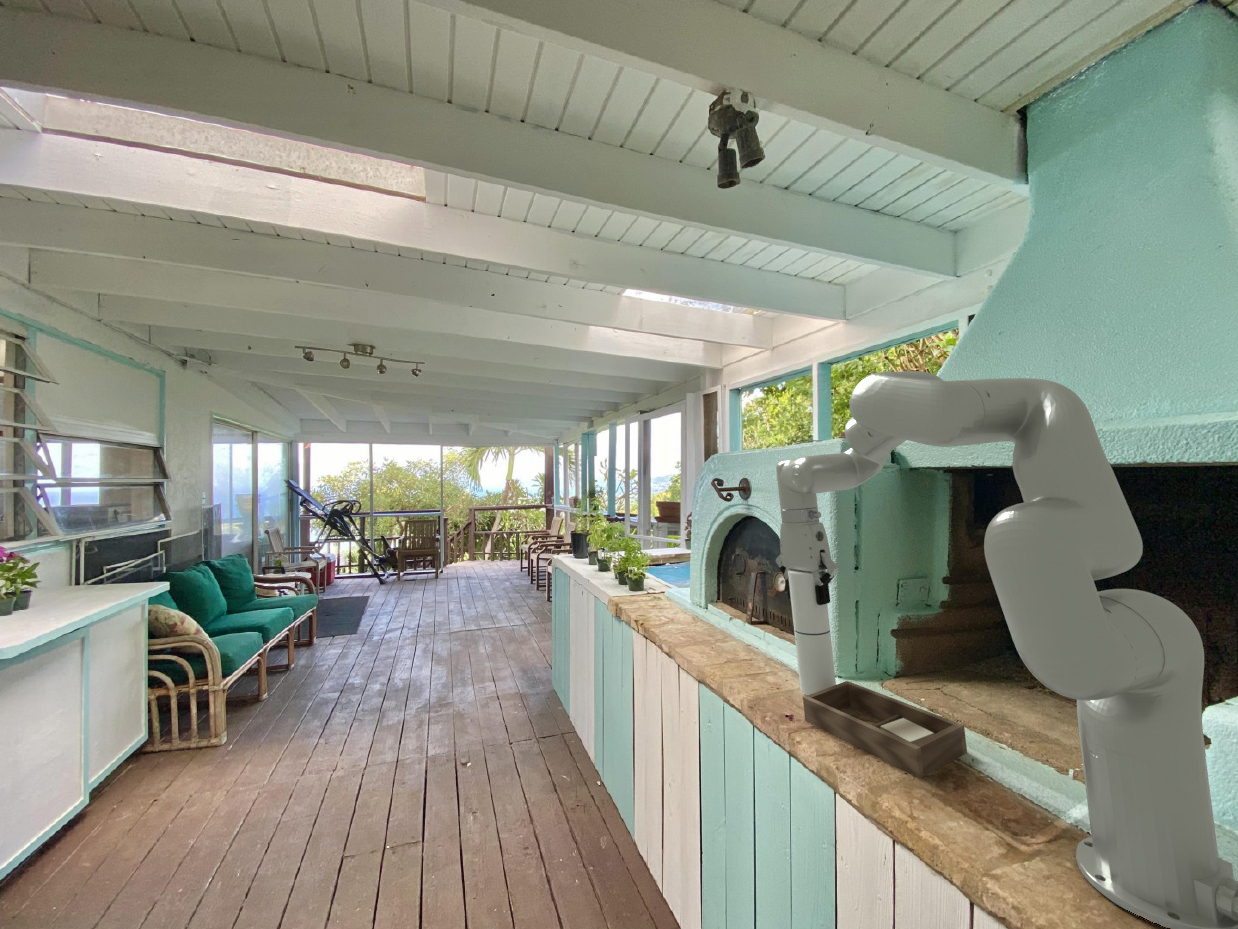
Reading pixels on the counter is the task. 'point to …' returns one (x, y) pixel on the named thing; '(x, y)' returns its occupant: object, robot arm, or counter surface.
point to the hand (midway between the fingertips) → (808, 600)
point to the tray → (881, 743)
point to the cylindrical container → (811, 634)
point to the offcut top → (907, 730)
